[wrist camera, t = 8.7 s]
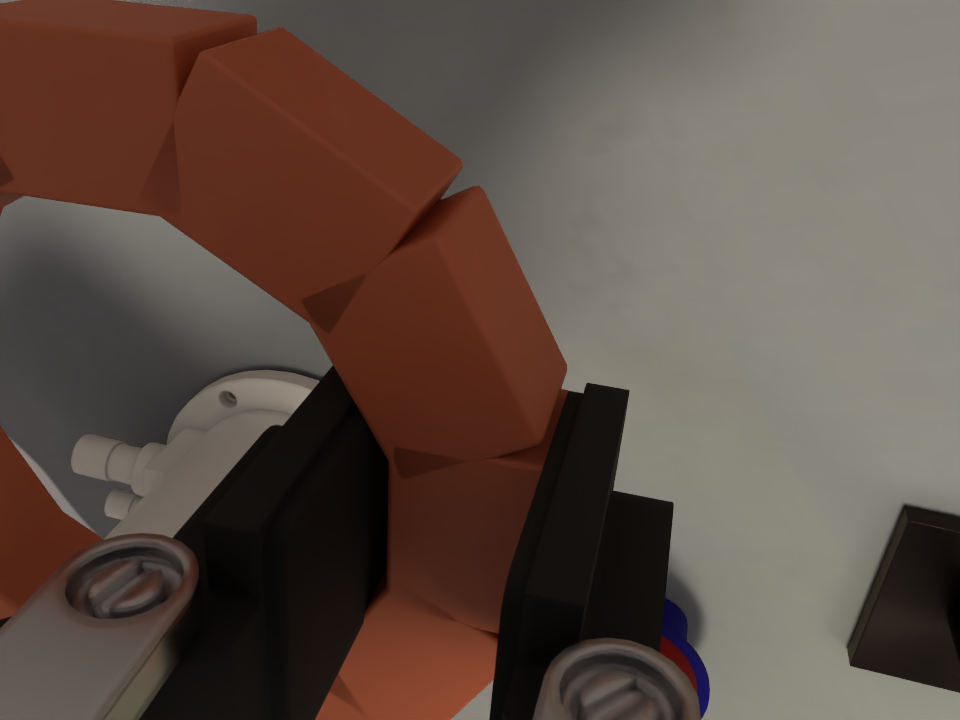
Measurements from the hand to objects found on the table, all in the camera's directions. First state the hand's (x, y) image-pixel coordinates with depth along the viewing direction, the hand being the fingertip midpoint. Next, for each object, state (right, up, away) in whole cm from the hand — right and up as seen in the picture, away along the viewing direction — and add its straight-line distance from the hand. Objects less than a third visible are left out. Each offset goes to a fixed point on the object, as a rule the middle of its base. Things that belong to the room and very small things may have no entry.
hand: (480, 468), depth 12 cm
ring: (-4, +1, +1) cm, 4 cm away
